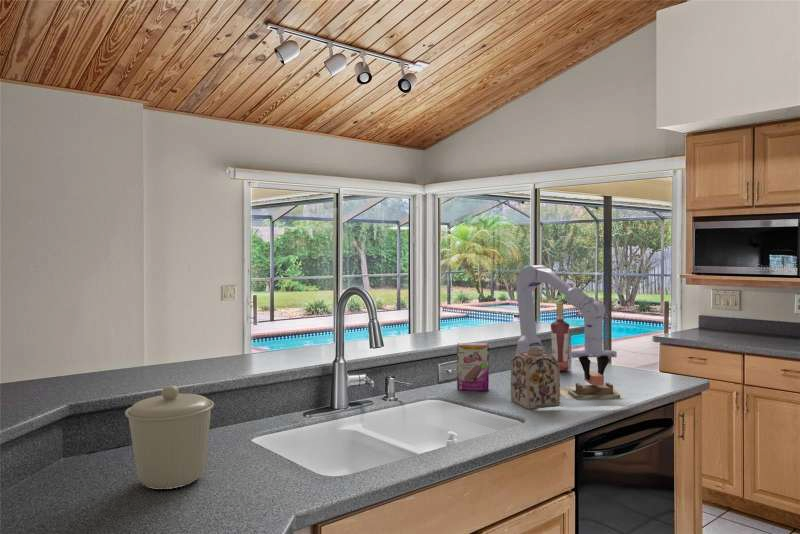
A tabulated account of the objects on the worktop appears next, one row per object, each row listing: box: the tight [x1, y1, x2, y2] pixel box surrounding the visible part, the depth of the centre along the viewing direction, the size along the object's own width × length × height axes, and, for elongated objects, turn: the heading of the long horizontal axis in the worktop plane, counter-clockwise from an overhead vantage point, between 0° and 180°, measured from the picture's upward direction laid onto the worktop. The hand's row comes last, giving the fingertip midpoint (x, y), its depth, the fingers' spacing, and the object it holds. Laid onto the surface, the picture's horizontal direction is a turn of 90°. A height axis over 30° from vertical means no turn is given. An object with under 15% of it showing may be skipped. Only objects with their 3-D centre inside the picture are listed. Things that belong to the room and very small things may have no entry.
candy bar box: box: [456, 342, 490, 392], centre depth 208 cm, size 11×5×16 cm, turn 84°
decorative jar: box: [510, 347, 561, 410], centre depth 189 cm, size 12×12×18 cm
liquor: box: [550, 301, 570, 373], centre depth 238 cm, size 7×7×28 cm
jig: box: [560, 386, 629, 400], centre depth 198 cm, size 20×16×2 cm
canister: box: [124, 385, 215, 488], centre depth 128 cm, size 18×18×21 cm
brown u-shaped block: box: [575, 382, 614, 395], centre depth 193 cm, size 11×4×4 cm, turn 92°
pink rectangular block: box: [583, 370, 605, 385], centre depth 193 cm, size 4×8×3 cm, turn 1°
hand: (593, 379), depth 193 cm, fingers closed on pink rectangular block, 4 cm apart
